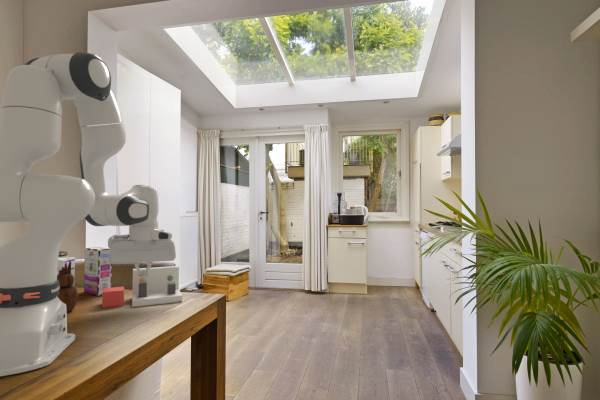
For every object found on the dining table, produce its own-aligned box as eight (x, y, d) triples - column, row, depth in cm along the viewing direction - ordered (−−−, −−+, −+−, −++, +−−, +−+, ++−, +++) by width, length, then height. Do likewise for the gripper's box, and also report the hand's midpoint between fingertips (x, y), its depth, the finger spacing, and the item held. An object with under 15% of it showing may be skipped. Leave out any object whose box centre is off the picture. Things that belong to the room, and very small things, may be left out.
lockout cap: (123, 305, 109) (123, 290, 110) (102, 307, 107) (102, 292, 107) (124, 300, 115) (124, 286, 115) (103, 302, 112) (103, 288, 112)
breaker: (146, 298, 113) (146, 282, 113) (138, 298, 112) (138, 283, 112) (146, 296, 115) (146, 281, 115) (138, 297, 114) (138, 282, 114)
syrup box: (75, 299, 116) (76, 256, 117) (61, 304, 110) (62, 259, 111) (59, 298, 117) (60, 256, 117) (45, 303, 111) (46, 258, 111)
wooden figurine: (72, 307, 107) (73, 259, 107) (80, 310, 104) (81, 261, 104) (46, 312, 101) (47, 262, 102) (54, 316, 98) (55, 264, 98)
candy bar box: (112, 293, 124) (113, 248, 125) (97, 296, 120) (98, 249, 120) (97, 289, 130) (98, 246, 131) (83, 291, 126) (84, 247, 127)
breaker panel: (182, 301, 114) (182, 271, 115) (132, 306, 108) (132, 275, 108) (177, 293, 125) (178, 265, 125) (132, 297, 119) (132, 268, 119)
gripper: (107, 235, 106) (106, 280, 106) (176, 234, 115) (176, 275, 115) (108, 234, 112) (107, 276, 112) (174, 232, 121) (174, 271, 121)
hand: (143, 275), depth 114 cm, fingers closed
